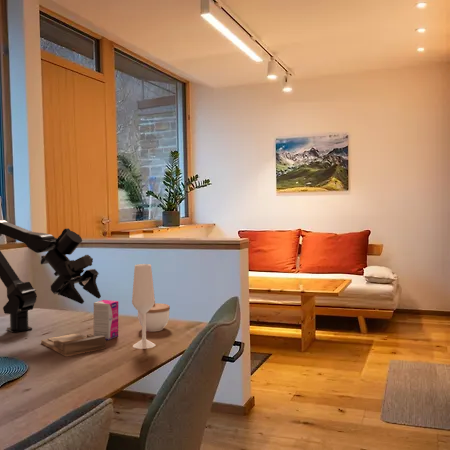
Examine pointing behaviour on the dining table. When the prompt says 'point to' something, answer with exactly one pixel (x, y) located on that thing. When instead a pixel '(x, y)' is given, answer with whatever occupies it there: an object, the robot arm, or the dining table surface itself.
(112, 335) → the supplement box
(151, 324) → the lidded jar
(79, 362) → the dining table surface
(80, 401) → the dining table surface
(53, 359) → the dining table surface
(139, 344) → the champagne flute
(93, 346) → the click board
